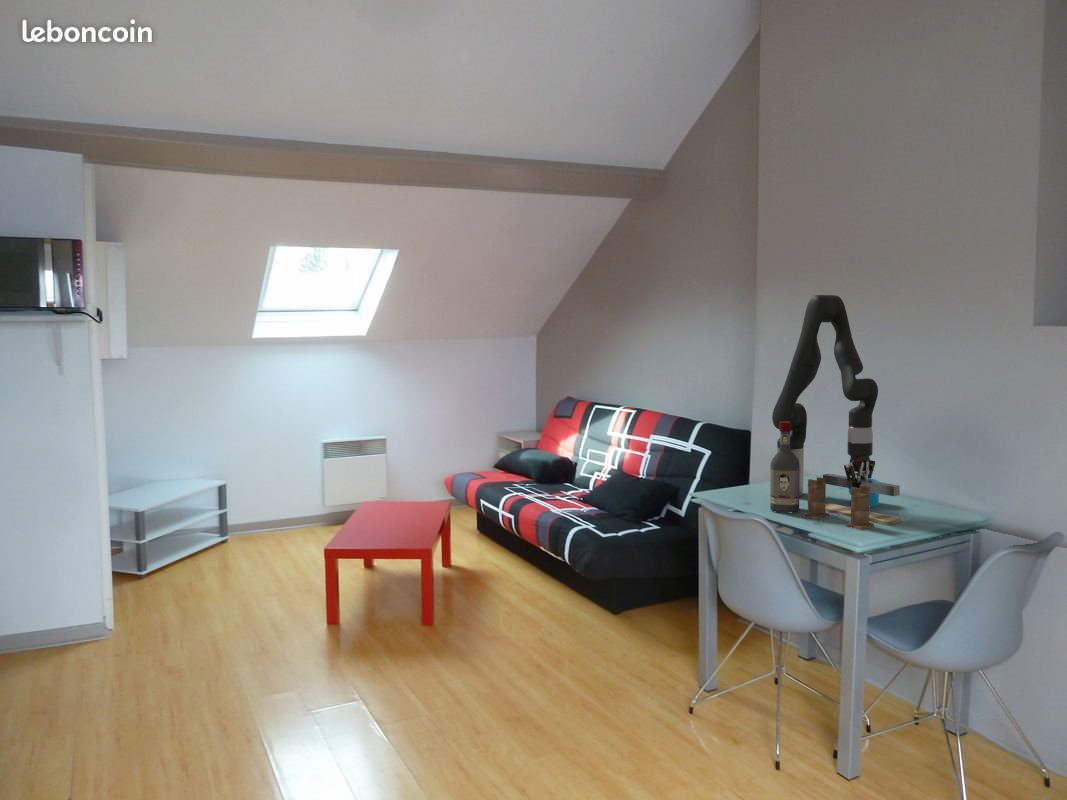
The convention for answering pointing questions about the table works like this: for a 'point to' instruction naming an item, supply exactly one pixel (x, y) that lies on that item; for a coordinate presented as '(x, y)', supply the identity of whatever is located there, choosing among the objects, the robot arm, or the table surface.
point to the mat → (872, 516)
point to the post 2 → (860, 507)
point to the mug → (872, 495)
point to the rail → (874, 486)
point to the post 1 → (816, 498)
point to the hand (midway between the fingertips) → (859, 492)
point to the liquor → (784, 475)
